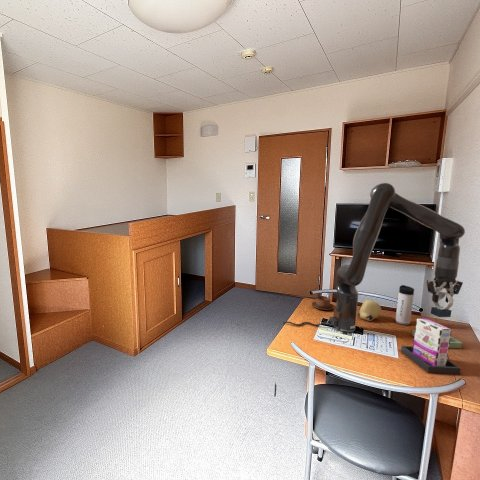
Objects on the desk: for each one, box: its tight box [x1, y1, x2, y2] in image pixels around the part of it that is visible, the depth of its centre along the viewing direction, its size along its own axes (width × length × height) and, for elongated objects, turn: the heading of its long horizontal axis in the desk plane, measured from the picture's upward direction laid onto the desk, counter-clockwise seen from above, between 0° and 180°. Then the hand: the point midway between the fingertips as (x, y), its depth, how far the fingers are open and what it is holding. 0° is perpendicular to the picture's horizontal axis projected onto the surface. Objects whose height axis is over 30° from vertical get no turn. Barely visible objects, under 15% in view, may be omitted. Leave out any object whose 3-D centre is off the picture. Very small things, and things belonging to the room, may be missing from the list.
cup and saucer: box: [311, 295, 335, 311], centre depth 190 cm, size 12×12×6 cm
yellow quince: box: [357, 299, 382, 322], centre depth 174 cm, size 10×12×11 cm
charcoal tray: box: [400, 345, 462, 375], centre depth 132 cm, size 12×17×3 cm
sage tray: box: [411, 330, 463, 349], centre depth 148 cm, size 14×12×3 cm
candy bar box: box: [412, 318, 452, 366], centre depth 130 cm, size 11×5×16 cm, turn 5°
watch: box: [430, 291, 454, 318], centre depth 145 cm, size 6×8×11 cm
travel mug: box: [395, 284, 415, 326], centre depth 168 cm, size 6×7×20 cm
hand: (441, 302), depth 145 cm, fingers closed on watch, 4 cm apart
